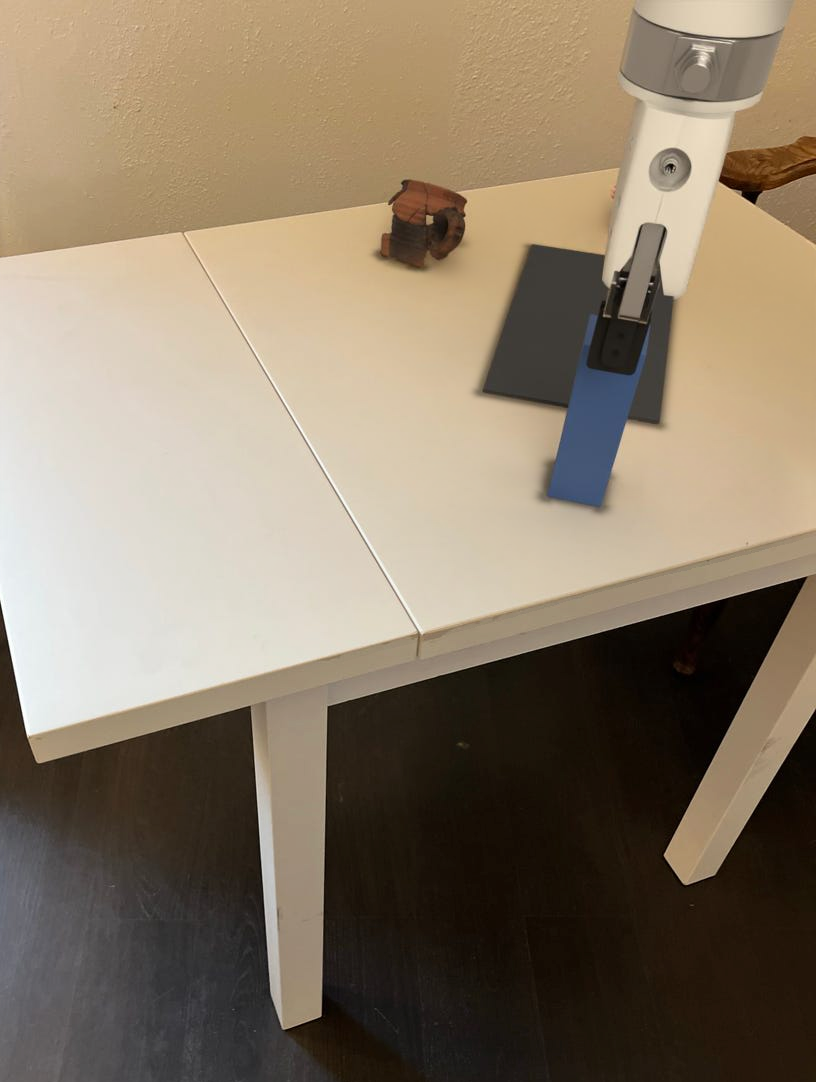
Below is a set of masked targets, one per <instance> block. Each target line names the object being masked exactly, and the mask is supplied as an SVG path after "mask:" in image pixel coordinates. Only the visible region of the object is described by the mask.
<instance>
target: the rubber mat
mask: <svg viewBox="0 0 816 1082" xmlns="http://www.w3.org/2000/svg"><path fill="white" fill-rule="evenodd" d="M604 259H605V254H599V253H594V252H587V251H580V250H574V249H569V248H568V249H567V248H560V247H554V246H548V245H541V244H535V243H532V244H531V245H530V248H529V251H528V254H527V257H526V259H525V263H524V266H523V269H522V273H521V276H520V278H519V281H518V283H517V286H516V287H517V288H516V290H515V293H514V296H513V299H512V301H511V305H510V308H509V310H508V314H507V317H506V320H505V323H504V326H503V329H502V331H501V335H500V338H499V341H498V343H497V346H496V349H495V353H494V356H493V359H492V360H491V365H490V368H489V370H488V373H487V376H486V379H485V383H484V385H483V389H482V393H485V394H491V395H497V396H501V397H507V398H511V399H512V398H514V399H518V400H524V401H529V402H535V403H541V404H545V405H551V406H557V407H562V408H567V409H568V405H569V401H570V397H571V392H572V388H573V384H574V380H575V376H576V372H577V367H578V363H579V359H580V355H581V351H582V346H583V342H584V338H585V334H586V330H587V326H588V321H589V317H590V314H593V315H598V313H599V309H600V306H601V302H602V300H604V301H606V300H607V299H606V297H607V293H608V289H609V288H608V287H607V286H606V285H605V284H604V282H603V281H602V275H603V267H604ZM673 306H674V299H672V296H667V295H664V293H663V286H662V278H661V280H660V285H659V288H658V290H657V293H656V296H655V300H654V303H653V306H652V314H651V322H650V331H649V338H648V345H647V353H646V357H645V361H644V364H643V367H642V371H641V374H640V377H639V381H638V384H637V388H636V391H635V394H634V398H633V401H632V404H631V408H630V411H629V414H628V418H627V420H628V419H630V420H634V421H640V422H644V423H645V422H646V423H651V424H656V425H659V424H660V422H661V414H662V404H663V396H664V395H663V394H664V387H665V386H664V385H665V378H666V367H667V359H668V351H669V342H670V333H671V325H672V324H671V323H672V314H673Z"/></svg>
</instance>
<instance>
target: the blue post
mask: <svg viewBox="0 0 816 1082" xmlns="http://www.w3.org/2000/svg"><path fill="white" fill-rule="evenodd" d="M597 317H598V315H593V314H590V317H589V321H588V326H587V330H586V334H585V338H584V342H583V346H582V351H581V355H580V359H579V363H578V367H577V372H576V376H575V380H574V384H573V388H572V392H571V397H570V401H569V405H568V408H567V409H566V413H565V417H564V422H563V425H562V426H563V427H562V431H561V434H560V438H559V443H558V447H557V452H556V456H555V459H554V464H553V467H552V473H551V477H550V481H549V485H548V491H547V494H546V497H547V498H552V499H556V500H562V501H567V502H572V503H577V504H583V505H586V506H593V507H598V508H602V505H603V502H604V498H605V495H606V491H607V489H608V485H609V482H610V478H611V475H612V471H613V468H614V465H615V462H616V459H617V455H618V452H619V448H620V445H621V441H622V438H623V435H624V430H625V428H626V424H627V421H628V414H629V411H630V408H631V404H632V401H633V398H634V394H635V391H636V388H637V384H638V381H639V377H640V374H641V371H642V367H643V364H644V361H645V357H646V353H647V345H648V338H649V331H650V325H649V328H648V332H647V335H646V338H645V342H644V345H643V348H642V352H641V355H640V358H639V362H638V365H637V368H636V371H635V373H634V374H633V375H630V376H629V375H622V374H617V373H611V372H606V371H600V370H595V369H590V368H588V367H587V365H586V362H587V358H588V353H589V348H590V345H591V341H592V337H593V333H594V329H595V325H596V321H597Z"/></svg>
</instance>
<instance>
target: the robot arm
mask: <svg viewBox="0 0 816 1082" xmlns="http://www.w3.org/2000/svg"><path fill="white" fill-rule="evenodd" d="M794 1H795V0H634V2H633V7H632V10H631V14H630V20H629V24H628V29H627V33H626V37H625V41H624V46H623V51H622V54H621V59H620V63H619V68H618V72H617V76H616V80H617V84H618V85H619V86H620V88H621V89H622V90H623V91H625V92H626V93H627V94H629V95H630V96H632V97H634V98H635V99H634V104H633V107H632V112H631V116H630V119H629V120H630V121H629V125H628V129H627V133H626V137H625V142H624V146H623V151H622V155H621V159H620V164H619V168H618V173H617V179H616V183H615V186H616V188H615V187H614V188H615V189H614V190H615V194H614V193H613V194H614V199H613V198H612V206H611V209H610V210H611V212H610V217H609V223H608V230H607V237H606V245H605V251H604V255H605V259H604V267H603V275H602V281H603V282H604V284H605V285H606V286H607V287H608V288H609V289H608V293H607V297H606V299H607V300H606V301H604V300H602V302H601V306H600V309H599V313H598V317H597V321H596V325H595V329H594V333H593V337H592V341H591V345H590V348H589V353H588V358H587V362H586V365H587V367H588V368H590V369H595V370H600V371H606V372H611V373H617V374H622V375H629V376H630V375H633V374H634V373H635V371H636V368H637V365H638V362H639V358H640V355H641V352H642V348H643V345H644V342H645V338H646V335H647V332H648V328H649V325H650V322H651V314H652V306H653V303H654V300H655V296H656V293H657V290H658V288H659V285H660V280H661V278H662V286H663V293H664V295H667V296H672V299H673V300H679V299H680V298H682V297H683V296H684V295H685V294H686V293H687V288H688V286H689V281H690V278H691V274H692V272H693V268H694V264H695V261H696V257H697V254H698V250H699V247H700V244H701V241H702V237H703V234H704V231H705V227H706V223H707V221H708V219H709V218H708V217H709V215H710V210H711V208H712V204H713V201H714V198H715V194H716V191H717V187H718V184H719V181H720V177H721V175H722V171H723V167H724V164H725V160H726V156H727V152H728V149H729V146H730V142H731V138H732V137H731V136H732V133H733V130H734V129H733V128H734V124H735V119H736V115H737V112H739V111H740V112H741V111H743V110H746V109H749V108H753V107H754V106H756V105H757V104H758V103H760V101H761V100H762V97H763V94H764V92H765V88H766V85H767V82H768V78H769V76H770V73H771V70H772V66H773V64H774V62H775V61H774V60H775V58H776V56H777V52H778V48H779V45H780V43H781V40H782V37H783V33H784V30H785V27H786V26H787V23H788V19H789V17H790V13H791V11H792V7H793V4H794Z"/></svg>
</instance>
